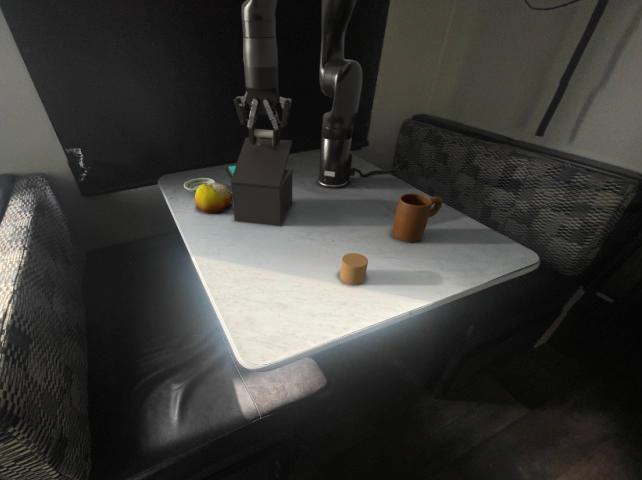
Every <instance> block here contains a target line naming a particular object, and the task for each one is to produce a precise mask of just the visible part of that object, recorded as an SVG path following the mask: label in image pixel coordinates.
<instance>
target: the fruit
mask: <svg viewBox="0 0 642 480" xmlns="http://www.w3.org/2000/svg"><path fill="white" fill-rule="evenodd" d="M194 202H195V203H194V204H195V205H196V207H197V209H198V210H199V212H201V213H204V214H212V215H213V214H217V213H221V212H222V211H224V210H225V211H226V210H227V209H228V208H229V207H230V205H231V204H232V203H233V199H232V190H231V189H230V188H228V187H227V186H226V185H224V184H221V183H219V182H215V183H209V184H202V185H200V186H199V187H198V189H197V190H196V193H194Z"/></svg>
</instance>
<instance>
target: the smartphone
mask: <svg viewBox="0 0 642 480" xmlns="http://www.w3.org/2000/svg"><path fill="white" fill-rule="evenodd" d="M235 167H236V165H230V166H227V170H228V171H229V174H230V175H231V177H232V176H233V173H234V170H235Z"/></svg>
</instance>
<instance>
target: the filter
mask: <svg viewBox="0 0 642 480" xmlns="http://www.w3.org/2000/svg"><path fill="white" fill-rule="evenodd" d="M368 265H369V259H368V257H367V256H366V255H364V254H361V253H357V252H348V253H345V254H344V255H343V256H342V258H341V265H340V271H339V272H340V273H339V278H340V280H341V281H342V282H343V283H345V284H347V285H352V286H357V285H360V284H362V283H364V282H365V280H366V275H367V269H368Z"/></svg>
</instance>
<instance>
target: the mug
mask: <svg viewBox="0 0 642 480" xmlns="http://www.w3.org/2000/svg"><path fill="white" fill-rule="evenodd" d="M442 207H443V199H442V198H441V197H440V196H432V197H428V196H426V195H423V194H421V193H420V194H419V193H405V194H402V195H400V197H399V198H398V202H397V205H396V210H395V214H394V217H393V218H394V219H393V223H392V228H391V234H392V236H393V238H395V239H396V240H398V241H401V242H404V243H415V242H419V241H421V240H422V238H423V236H424V234H425V231H426V227H427V224H428V221H429V218H431V217H434V216H435V215H436V214H437V213H439V211H440V210H441V208H442Z"/></svg>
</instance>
